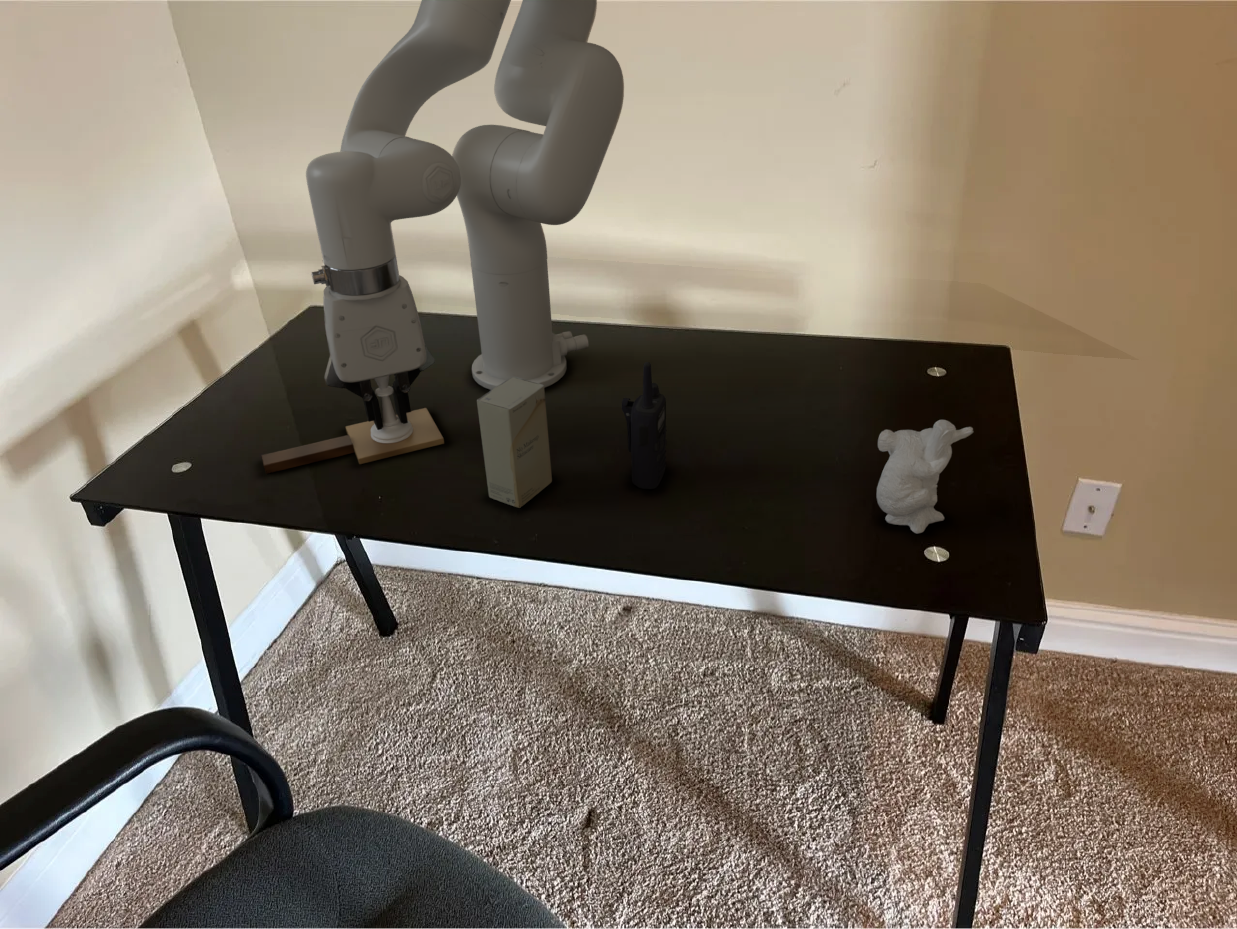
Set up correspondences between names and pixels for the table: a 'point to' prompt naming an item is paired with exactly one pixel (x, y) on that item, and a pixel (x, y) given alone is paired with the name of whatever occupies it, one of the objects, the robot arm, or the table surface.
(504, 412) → the cosmetic box
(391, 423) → the chess piece
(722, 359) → the table surface
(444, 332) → the table surface
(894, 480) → the koala figurine
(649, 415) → the two-way radio
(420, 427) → the spatula
